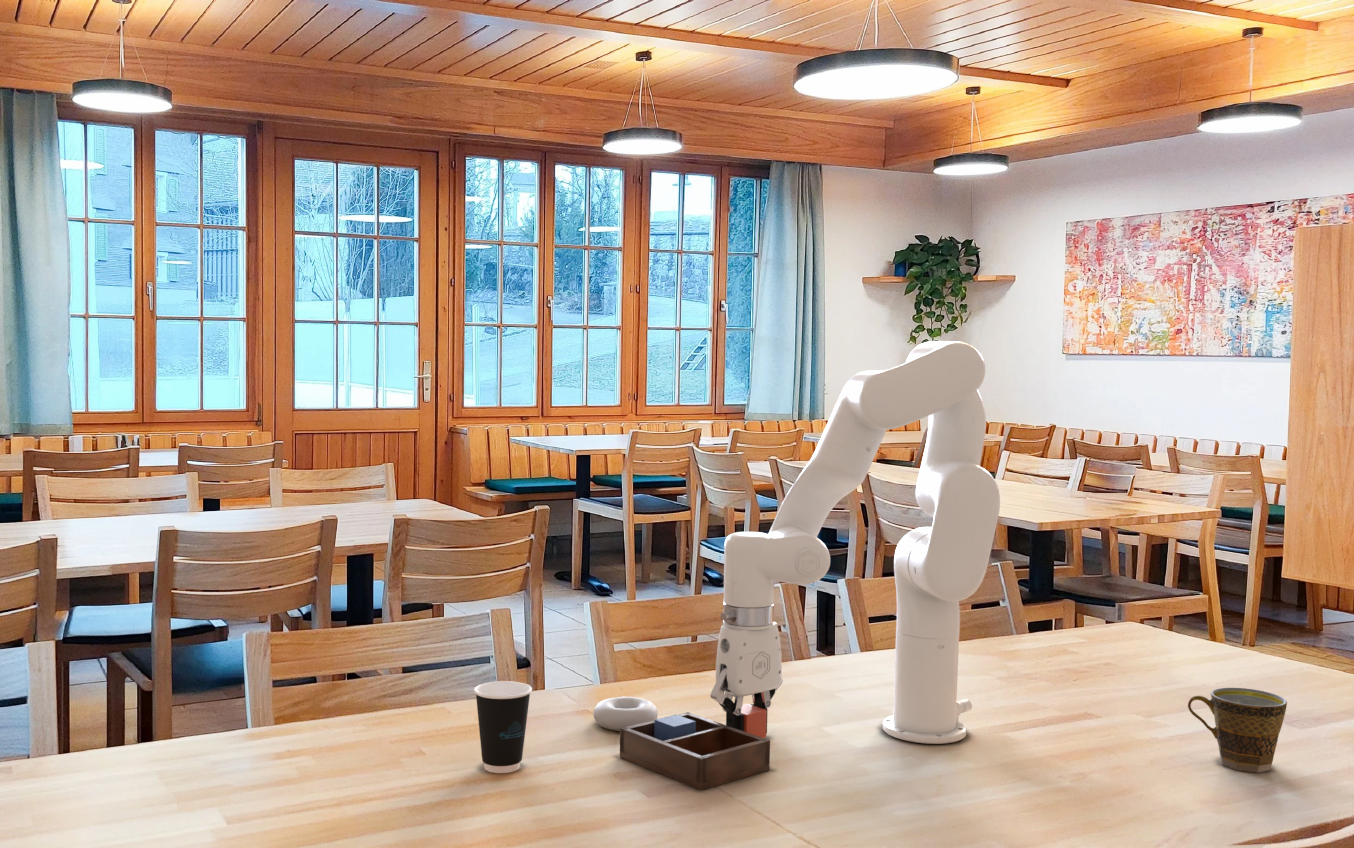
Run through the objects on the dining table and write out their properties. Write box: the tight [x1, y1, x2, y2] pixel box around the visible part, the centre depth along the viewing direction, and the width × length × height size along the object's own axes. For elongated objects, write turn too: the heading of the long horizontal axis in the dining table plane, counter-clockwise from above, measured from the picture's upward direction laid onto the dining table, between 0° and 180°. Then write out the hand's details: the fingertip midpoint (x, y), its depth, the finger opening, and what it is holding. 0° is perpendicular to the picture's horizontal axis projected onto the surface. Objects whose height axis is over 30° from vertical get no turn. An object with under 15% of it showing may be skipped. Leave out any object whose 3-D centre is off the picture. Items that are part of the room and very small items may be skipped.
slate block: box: [654, 714, 696, 741], centre depth 177 cm, size 4×4×4 cm
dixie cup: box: [473, 680, 533, 774], centre depth 171 cm, size 8×8×11 cm
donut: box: [592, 696, 659, 732], centre depth 192 cm, size 10×4×10 cm
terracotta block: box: [740, 703, 768, 739], centre depth 187 cm, size 4×4×4 cm
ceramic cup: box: [1187, 687, 1288, 773], centre depth 180 cm, size 13×10×10 cm
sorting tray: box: [619, 711, 771, 791], centre depth 174 cm, size 13×17×4 cm
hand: (746, 734), depth 187 cm, fingers closed on terracotta block, 4 cm apart
